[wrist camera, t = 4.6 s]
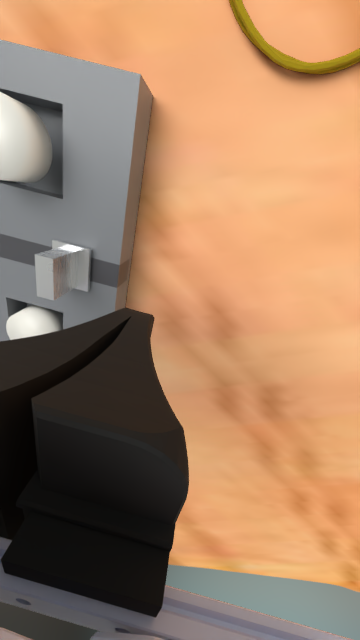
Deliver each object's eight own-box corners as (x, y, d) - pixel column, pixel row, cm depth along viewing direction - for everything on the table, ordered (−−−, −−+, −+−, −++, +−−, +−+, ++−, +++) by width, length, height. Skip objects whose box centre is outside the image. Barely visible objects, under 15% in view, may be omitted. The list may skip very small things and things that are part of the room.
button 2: (53, 190, 14) (28, 187, 12) (-8, 174, 14) (-41, 170, 12) (51, 109, 12) (22, 93, 10) (-17, 92, 12) (-58, 73, 10)
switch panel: (116, 369, 22) (106, 388, 20) (-5, 336, 23) (-29, 351, 20) (153, 95, 13) (140, 74, 11) (-51, 45, 14) (-103, 14, 11)
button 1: (66, 346, 20) (52, 360, 19) (26, 335, 21) (8, 348, 19) (67, 309, 19) (51, 320, 17) (23, 297, 19) (3, 307, 17)
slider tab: (89, 290, 16) (65, 307, 14) (55, 281, 16) (25, 296, 14) (91, 249, 15) (65, 259, 12) (54, 239, 15) (21, 247, 12)
